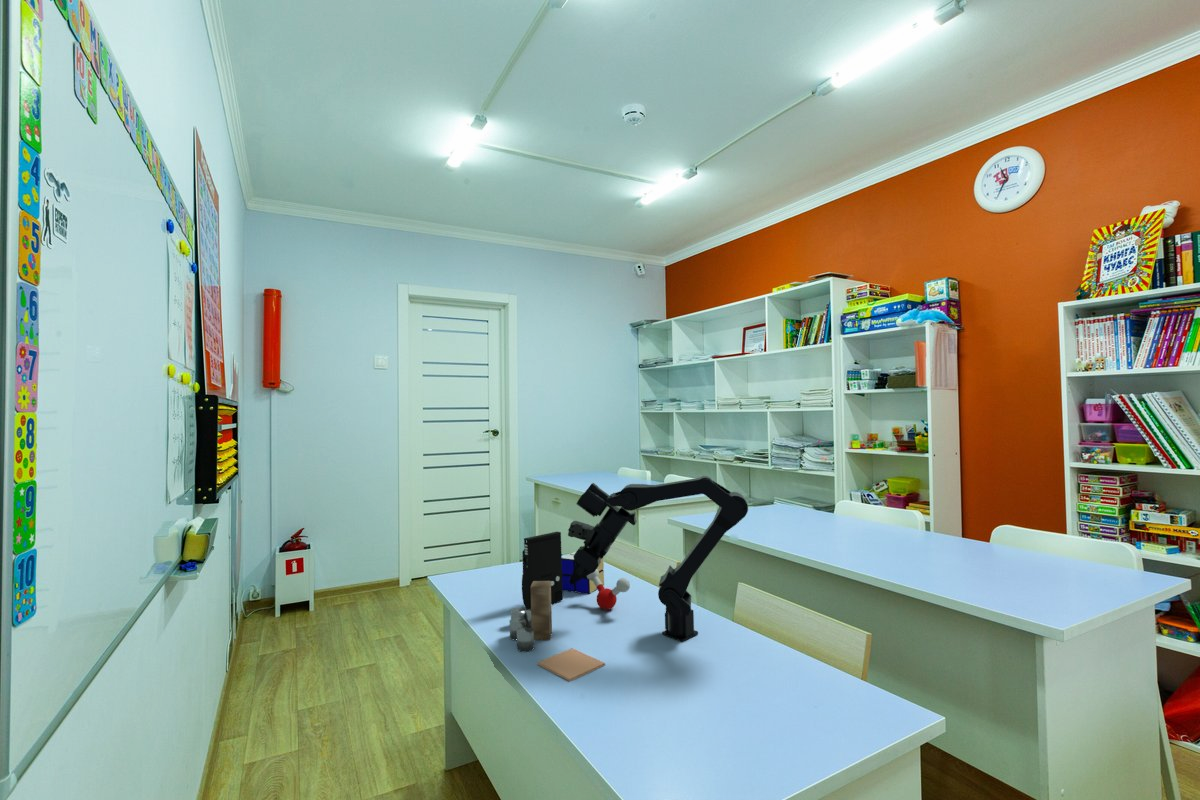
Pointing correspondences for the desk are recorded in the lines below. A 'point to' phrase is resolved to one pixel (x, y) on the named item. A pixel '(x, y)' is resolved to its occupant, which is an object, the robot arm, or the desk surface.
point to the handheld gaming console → (542, 565)
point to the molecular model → (608, 590)
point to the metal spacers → (522, 629)
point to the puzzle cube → (584, 583)
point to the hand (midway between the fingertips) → (574, 577)
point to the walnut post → (541, 610)
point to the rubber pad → (571, 664)
